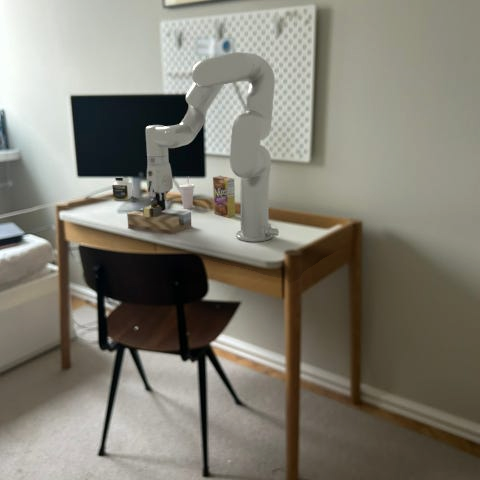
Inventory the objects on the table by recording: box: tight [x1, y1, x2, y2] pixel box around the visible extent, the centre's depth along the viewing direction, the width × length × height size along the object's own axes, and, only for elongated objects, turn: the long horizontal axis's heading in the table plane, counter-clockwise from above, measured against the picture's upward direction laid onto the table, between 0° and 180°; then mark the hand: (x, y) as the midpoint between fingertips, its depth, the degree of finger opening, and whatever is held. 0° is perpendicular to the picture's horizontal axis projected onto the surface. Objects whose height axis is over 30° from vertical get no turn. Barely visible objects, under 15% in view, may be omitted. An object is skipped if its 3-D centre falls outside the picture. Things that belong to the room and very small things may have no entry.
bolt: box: [144, 198, 159, 217], centre depth 185 cm, size 2×6×5 cm, turn 153°
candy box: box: [212, 175, 236, 218], centre depth 206 cm, size 9×4×15 cm, turn 41°
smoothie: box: [178, 177, 195, 210], centre depth 218 cm, size 6×6×14 cm
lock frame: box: [126, 204, 192, 235], centre depth 190 cm, size 20×12×8 cm, turn 63°
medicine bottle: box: [111, 177, 133, 201], centre depth 237 cm, size 7×7×12 cm
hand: (160, 210), depth 191 cm, fingers closed
